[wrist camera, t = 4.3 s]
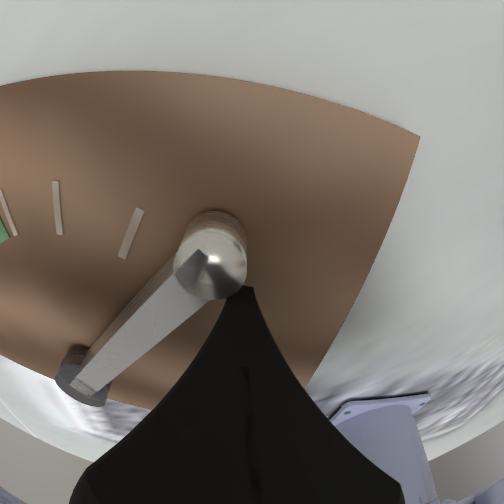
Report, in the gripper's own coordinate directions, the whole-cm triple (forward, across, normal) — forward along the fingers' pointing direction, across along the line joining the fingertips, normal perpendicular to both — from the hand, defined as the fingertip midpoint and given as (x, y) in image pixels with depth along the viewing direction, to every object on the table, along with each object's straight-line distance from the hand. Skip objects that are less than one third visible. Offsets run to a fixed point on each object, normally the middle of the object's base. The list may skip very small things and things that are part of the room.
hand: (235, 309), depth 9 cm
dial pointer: (+1, +4, +2) cm, 5 cm away
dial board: (+2, +7, +2) cm, 7 cm away
